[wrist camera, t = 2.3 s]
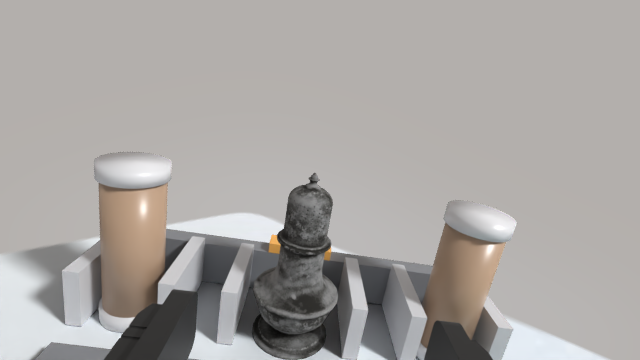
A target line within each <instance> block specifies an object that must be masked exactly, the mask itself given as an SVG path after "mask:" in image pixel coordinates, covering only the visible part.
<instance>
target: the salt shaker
mask: <svg viewBox="0 0 640 360" xmlns="http://www.w3.org/2000/svg"><path fill="white" fill-rule="evenodd" d="M309 180H310V183H309V184H306V185H302V186H299V187H296V188H295V189H293V190H292V191H291V193H290V195H289V197H288V204H287V212H286V218H285V225H284V229H283V230H281V231H280V232H279V233H278V234H277V240H278V242H279V243H280V244H281V245H280V252H279V260H278V264H277V266H276V267H274V268H271V269H268V270H266V271H264V272H263V273H262V274H260V275H259V276H258V277H257V279H256V280H255V282H254V287H253V292H254V295H255V298H256V299H257V304H258V307H259V310H260V313H261V314H260V315H259V316H258V317H257V318H256V320H255V322H254V323H253V331H252V333H253V337H254V340H255V341H256V343H257V344H258V346H259V347H260V348H261V349H263V350H264V351H265V352H266V353H268V354H270V355H272V356H274V357H278V358H282V359H288V360H298V359H304V358H307V357H309V356H312V355H314V354H315V353H317V352H318V351H319V350H320V349H321V348H322V346H323V345H324V342H325V338H326V332H325V328H324V326H323V324H322V323H323V322H324V320H325V319H326V318H327V316H328V315H329V313H330V311H331V310H332V309H333V308H334V307H335V305H336V304H337V300H338V292H337V289H336V287H335V286H334V284H333V283H332V281H331V280H329V279H328V278H327V277H326V276H324V275H323V274H322V266H323V261H324V256H325V252H326V251H328V250H329V249H330V247H331V240H330V239H329V238H328V237H327V233H328V227H329V222H330V216H331V211H332V206H333V202H332V198H331V196H330V194H329V193H328V192H327V191H326V190H324V189H323V188H321V187H320V186H319V185H317V182H318V181H319V179H318V176H317V175H316V173H314V174H313V175H312V176H311V177H310V178H309Z"/></svg>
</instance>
